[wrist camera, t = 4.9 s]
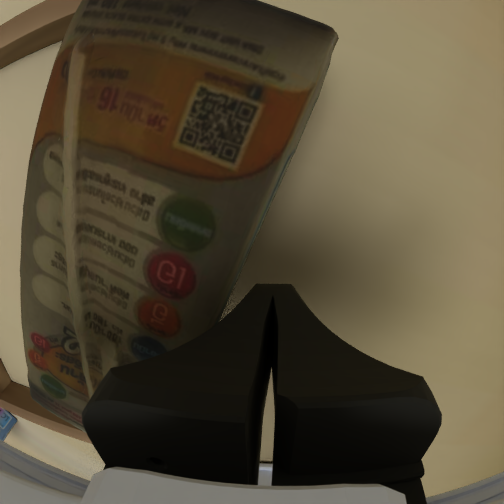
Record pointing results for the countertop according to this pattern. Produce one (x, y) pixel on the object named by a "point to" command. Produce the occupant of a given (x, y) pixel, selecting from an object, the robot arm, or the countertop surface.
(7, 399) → the display bay
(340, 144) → the countertop surface
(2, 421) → the ink cartridge box
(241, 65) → the beverage carton
